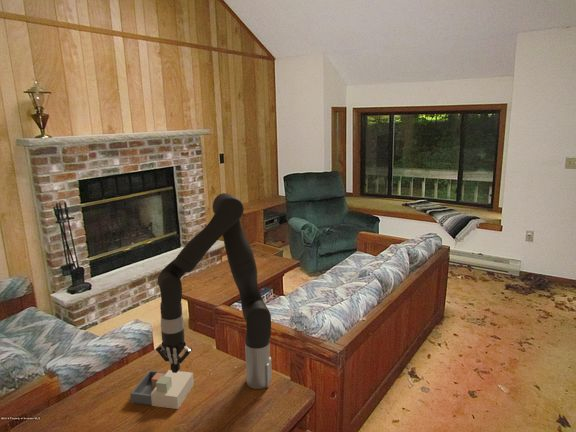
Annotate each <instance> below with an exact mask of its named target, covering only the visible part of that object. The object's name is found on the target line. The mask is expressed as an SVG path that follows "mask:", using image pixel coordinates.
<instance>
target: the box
mask: <svg viewBox="0 0 576 432" xmlns="http://www.w3.org/2000/svg"><path fill="white" fill-rule="evenodd" d="M167 372H168V371H161V370H152V369H149V371H147V373H146V374H145V375H144V376H143V378H142V379H140V381H139V382H138V383H137V385H136V386H135V387H134V388H133V389H132V391H131V392H130V402H131V404H136V405H137V404H138V405H144V406H152V401H151V393H152V391H153V390H154V389H155V388H152V378H153V377H154V375H155V374H156V373H165V374H166V373H167Z"/></svg>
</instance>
